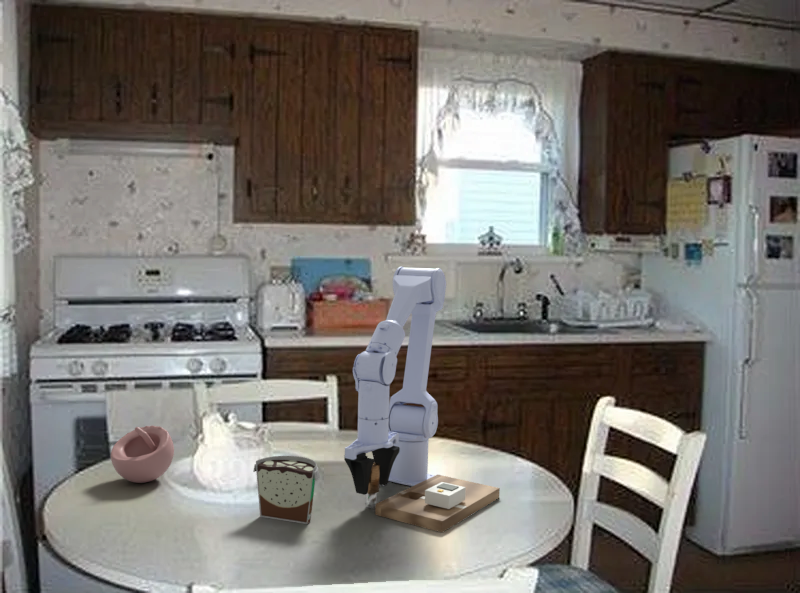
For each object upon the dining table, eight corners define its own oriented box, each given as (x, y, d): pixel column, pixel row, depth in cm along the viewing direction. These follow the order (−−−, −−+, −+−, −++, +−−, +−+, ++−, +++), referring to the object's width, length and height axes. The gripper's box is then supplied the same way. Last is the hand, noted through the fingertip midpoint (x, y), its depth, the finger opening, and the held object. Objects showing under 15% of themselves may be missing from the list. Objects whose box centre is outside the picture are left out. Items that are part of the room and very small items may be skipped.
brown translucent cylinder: (360, 507, 143) (361, 464, 142) (369, 503, 145) (370, 461, 145) (373, 510, 141) (374, 467, 141) (381, 506, 144) (382, 464, 143)
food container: (330, 513, 139) (331, 459, 138) (315, 525, 133) (316, 468, 132) (269, 504, 143) (270, 451, 142) (252, 515, 137) (253, 460, 136)
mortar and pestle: (97, 485, 151) (97, 428, 150) (139, 469, 162) (139, 415, 161) (146, 494, 147) (146, 435, 146) (186, 477, 158) (186, 422, 157)
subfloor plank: (375, 514, 139) (375, 503, 139) (437, 484, 157) (437, 474, 157) (442, 532, 131) (442, 520, 131) (499, 498, 150) (499, 487, 150)
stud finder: (424, 503, 139) (425, 489, 139) (441, 494, 144) (441, 480, 144) (448, 509, 136) (449, 494, 136) (465, 500, 141) (465, 486, 141)
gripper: (367, 427, 134) (366, 503, 135) (412, 412, 146) (410, 483, 147) (335, 421, 138) (334, 495, 139) (382, 407, 150) (380, 476, 151)
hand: (371, 488), depth 143 cm, fingers open, 6 cm apart
